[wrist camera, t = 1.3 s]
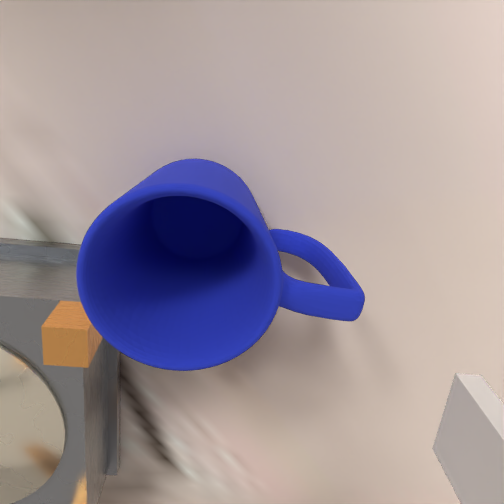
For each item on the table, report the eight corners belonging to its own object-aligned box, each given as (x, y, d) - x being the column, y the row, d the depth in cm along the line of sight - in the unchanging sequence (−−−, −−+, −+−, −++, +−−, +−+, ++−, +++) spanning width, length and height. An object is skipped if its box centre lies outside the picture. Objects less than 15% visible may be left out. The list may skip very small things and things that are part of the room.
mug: (309, 298, 31) (342, 400, 21) (119, 262, 29) (66, 355, 20) (346, 174, 28) (402, 229, 18) (137, 128, 26) (85, 163, 17)
